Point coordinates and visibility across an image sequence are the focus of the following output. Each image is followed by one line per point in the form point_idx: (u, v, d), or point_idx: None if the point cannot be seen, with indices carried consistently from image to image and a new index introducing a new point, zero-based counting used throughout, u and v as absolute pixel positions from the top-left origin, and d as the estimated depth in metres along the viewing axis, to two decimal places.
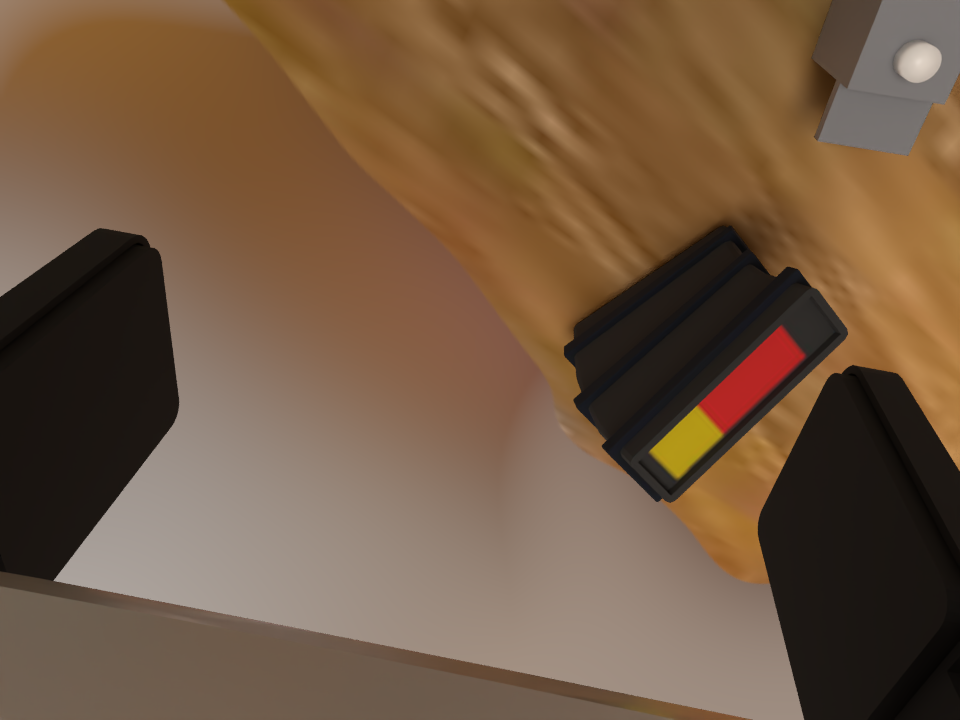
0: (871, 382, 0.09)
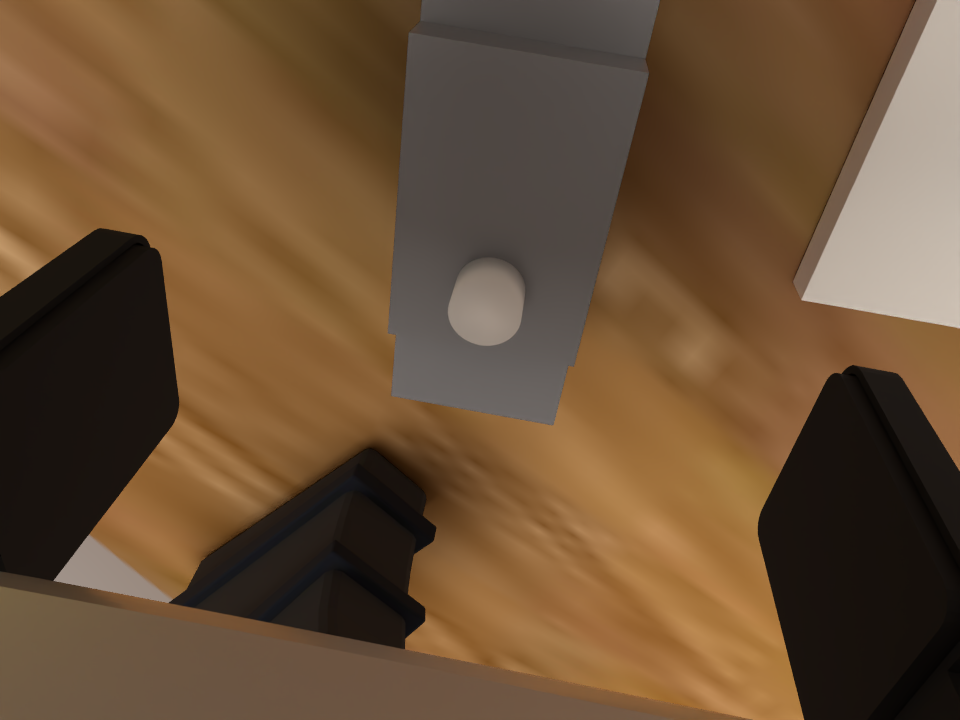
0: (871, 382, 0.09)
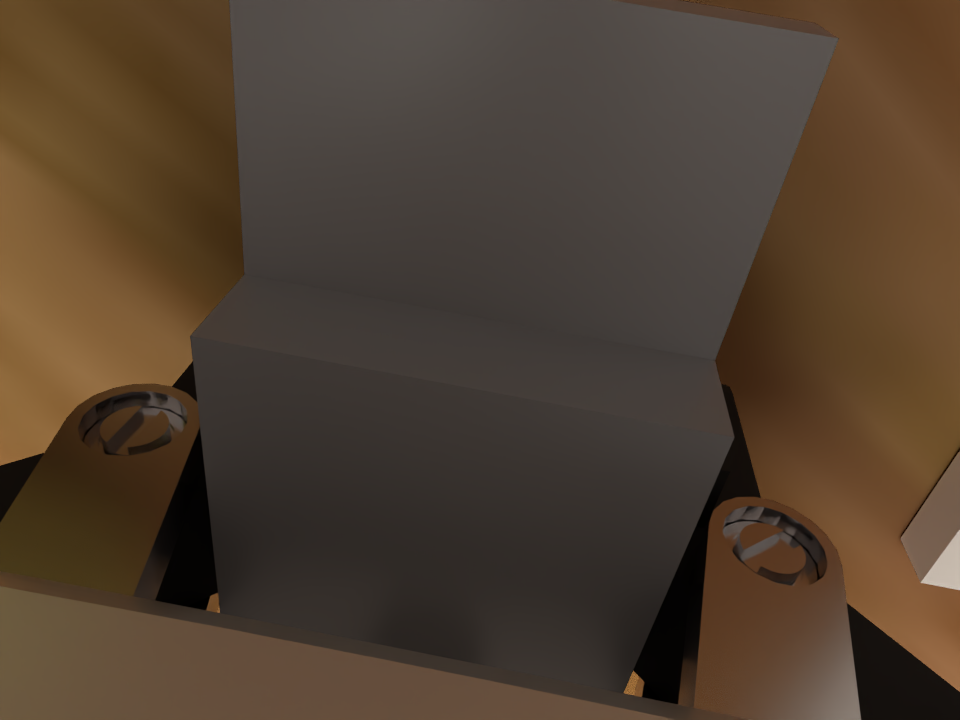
0: None
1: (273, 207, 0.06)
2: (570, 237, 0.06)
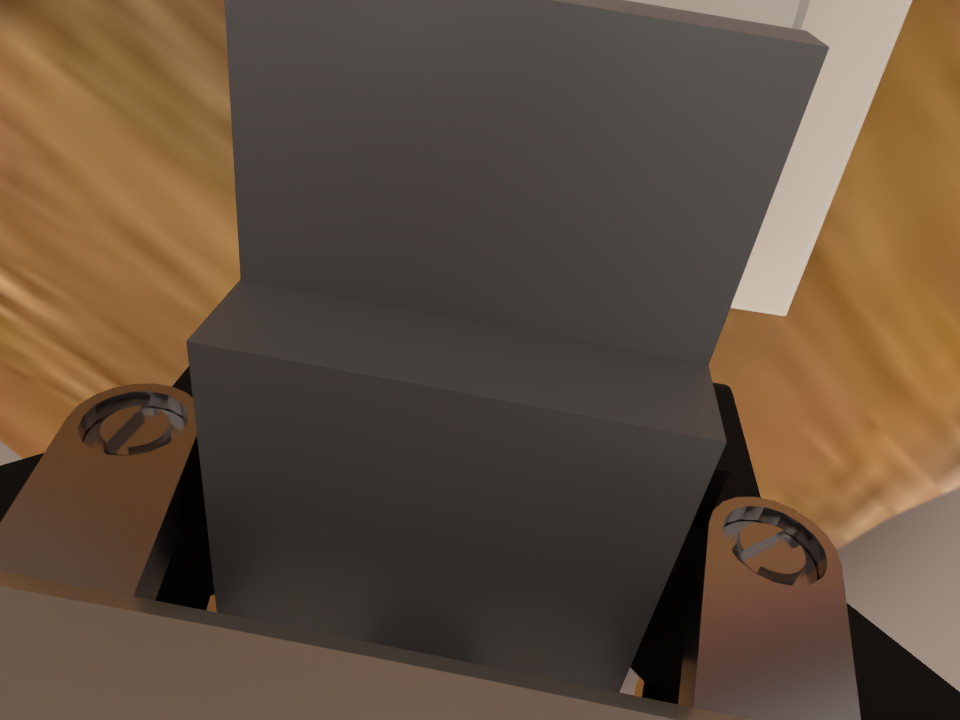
0: None
1: (269, 213, 0.06)
2: (562, 242, 0.06)
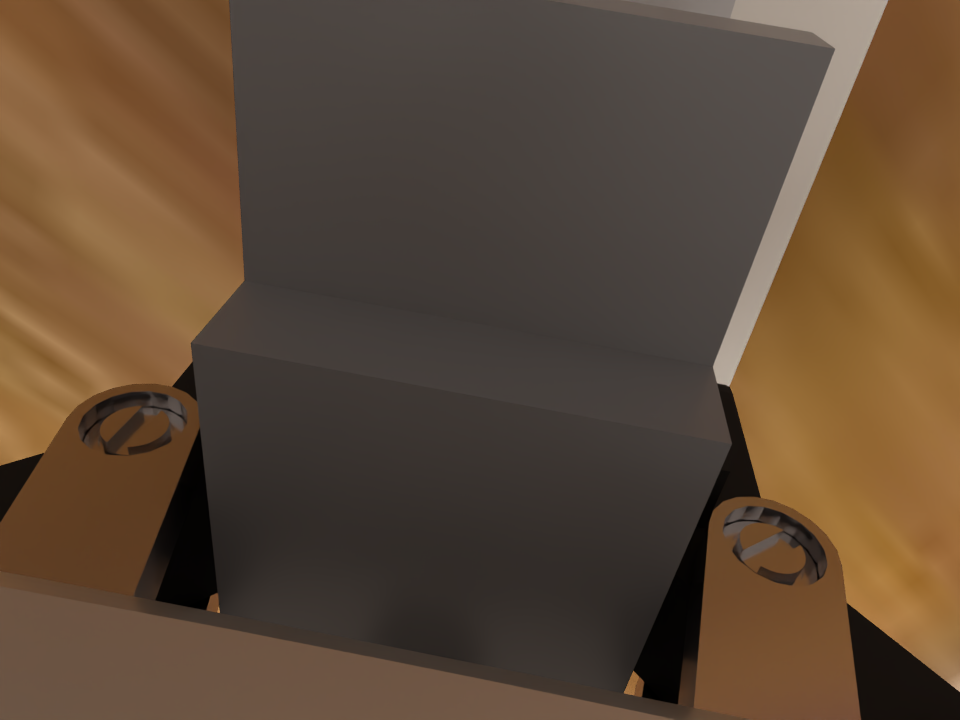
0: None
1: (272, 214, 0.06)
2: (568, 244, 0.06)
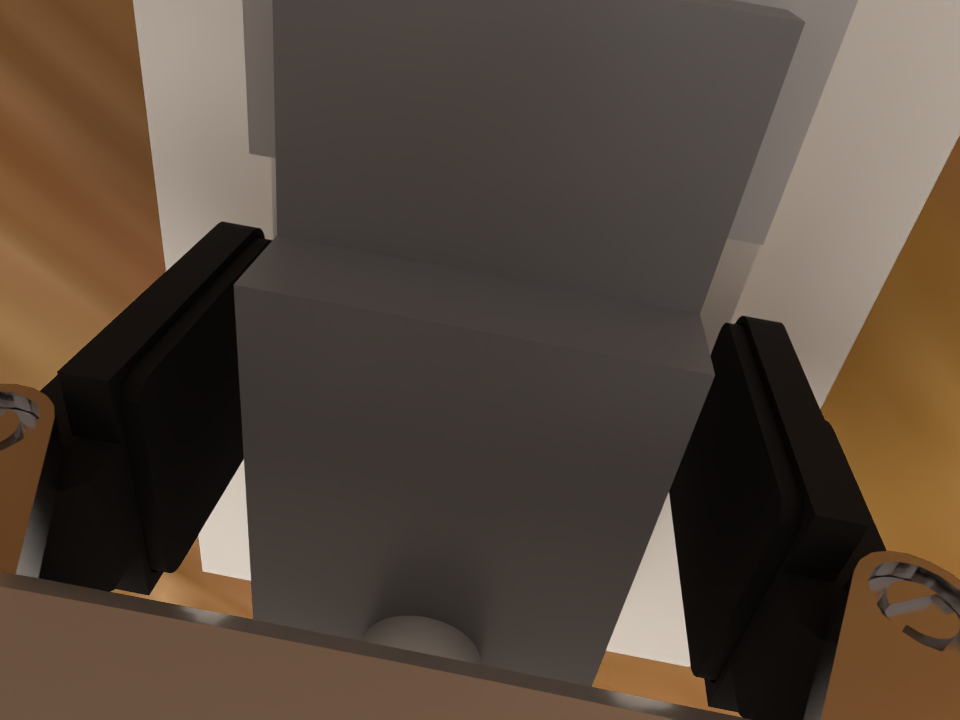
0: (754, 329, 0.10)
1: (304, 173, 0.06)
2: (570, 199, 0.06)
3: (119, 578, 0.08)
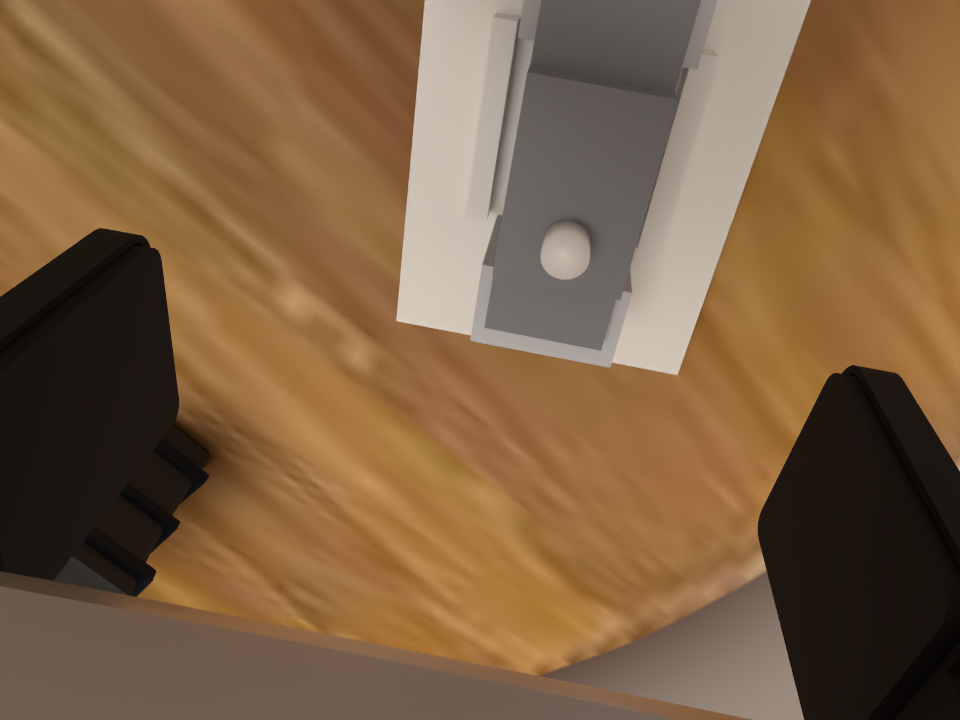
0: (871, 382, 0.09)
1: (544, 40, 0.20)
2: (632, 49, 0.19)
3: None
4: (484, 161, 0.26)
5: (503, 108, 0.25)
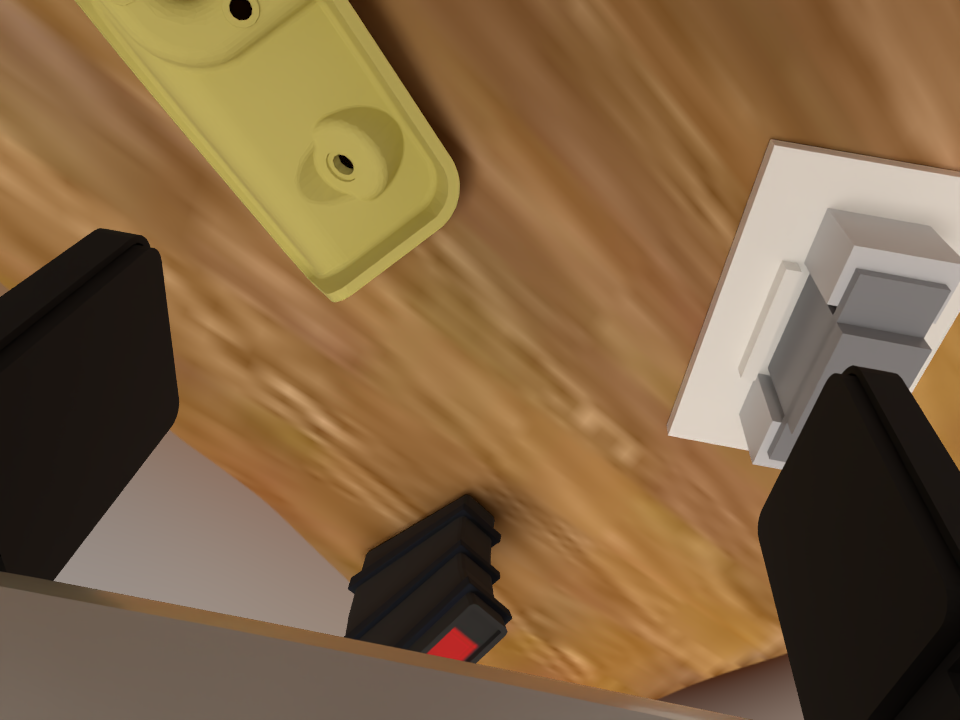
0: (871, 382, 0.09)
1: (848, 311, 0.33)
2: (901, 316, 0.33)
3: None
4: (761, 346, 0.39)
5: (781, 317, 0.38)
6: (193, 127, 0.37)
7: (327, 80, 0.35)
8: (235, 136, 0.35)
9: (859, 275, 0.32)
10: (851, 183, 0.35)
